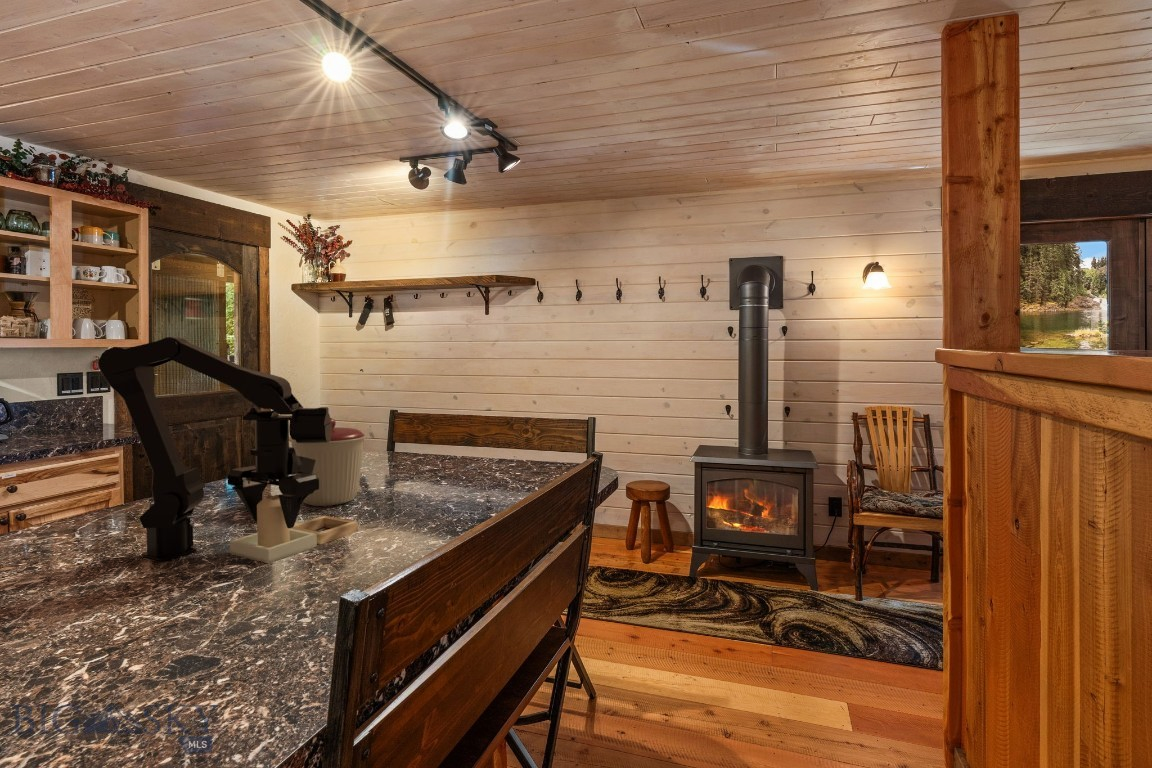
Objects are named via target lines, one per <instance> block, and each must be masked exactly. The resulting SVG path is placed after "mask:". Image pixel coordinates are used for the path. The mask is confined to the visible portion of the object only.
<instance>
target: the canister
mask: <svg viewBox="0 0 1152 768" xmlns="http://www.w3.org/2000/svg"><path fill="white" fill-rule="evenodd" d="M330 419H331V423H332V435H331V440H330V442H329V443H297V442H296V440H295V439H292V438H291V436H289V443H291V447H294V449H295V452H296V455H297V456H302V457H306V458H310V459H314V460H316V463H315V466H314V470H313V474H312V475H316V476H317V477H318V478H319V487H320V488H319V490H315V491H314V493H313V494H309V495H308V496H307V497H306V498H305V499H304V501H303V503H305V505H309V506H314V507H315V506H317V507H326V506H327V507H328V506H337V505H341V504H342V505H343V504H345V503H350V501H352V500H354V499H355V497H356V496H357V494H358V491H359V486H360V478H361V469H362V463H363V462H362V461H363V454H364V453H363V452H364V440H365V439H366V438H367V434H366V433H364V432H362V431H361V430H359V429H357V428H350V427H336V424H337V423H336V420H335V419H334V418H332V417H330ZM298 474H299V473H298Z"/></svg>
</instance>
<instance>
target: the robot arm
mask: <svg viewBox="0 0 1152 768" xmlns="http://www.w3.org/2000/svg"><path fill="white" fill-rule="evenodd" d="M170 362H175V363H178V364H180V365H181V366H185V367H187V368H189V369H191V370H193V371H196V372H197V373H200V374H203V375H204V376H206V377H209V378H211V379H214V380H215V381H217V382H220V383H222V384H225V385H227V386H228V387H230V388H232V389H233V390H235V391H236V392H237V393H238V394H240V395H241V396H242V397H243V398H244V399H246V400H247V401H248V402H250V403H252V404H253V405H255V406H253V407H251V408H250V410H249V411H248V412H247V413H246V414H245V415H243V416H242V420H243V421H254V422H255V423H254V428H255V429H254V431H255V433H254V435H255V436H254V437H255V448H253V449H250V451H249V452H250V454H249V455H250V456H255V465H250V466H243V467H238V468H233V469H231V470H230V471H229V472H228V474H227V485H228V486H232V487H231V489H232V491H233V490H234V491H235V492H236V494H237V495H238V497H239V498H240V500H241V501H242V503H243V504H244V507H245V508H246V510H247V511H248V513H249V515H250V517H251V519H252V520H253V521H254V522H255V523H257V504H258V503H259V502H260V501H261V500H263V493H264V491H265V489H266V488H267V486H268V485H270V486H271V485H272V486H276V487H277V486H278V490H279V492H280V494H277V495H278V496H279V500H280V504H281V508H282V511H283V515H284V519H285V523H286V525H287V528H293V527H294V525H295V524H296V521H297V518H298V515H299V513H300V510H301V507H302V505H303V503H304V502H303V501H304V499H305V498H306V497H307V496H308V495H309V494H313V493H314V491H315V490H319V488H320V487H319V478H318V477H317V476H316V475H312V474H313V470H314V466H315V463H316V460H314V459H310V458H306V457H302V456H297V455H296V452H295V449H294V447H292V446H290V441H289V437H291V438H292V439H295V440H296V442H297V443H329V442H330V440H331V435H332V423H331V419H330V418H331V416H330V413H329V407H328V406H321V407H304V406H303V405H302V404H301V402H300V401H299V400H298V399H297V397H296V396H295V395H294V394H293V393H292V386H291V383H290V382H289V381H288V380H287V379H286V378H284V377H281V376H278V375H275V374H271V373H267V372H263V371H258V370H253V369H249V368H247V367H246V368H245V367H243V366H242V365H240V364H237V363H235V362H233V361H230V360H229V359H225V358H223V357H221V356H219V355H218V354H215V353H212V352H211V351H208V350H206V349H205V348H201V347H199V346H197V345H195V344H193V343H191V342H189V341H187V340H186V339H185V338H182V337H180V336H179V337H175V336H169V337H164V338H161V339H159V340H155V341H152V342H148V343H144V344H143V343H142V344H141V345H140V344H139V345H135V346H118V347H117V346H116V347H110V348H108V349H105V350H104V351H103V352H102V353H101V354H100V357H99V358H98V360H97V366H98V369H99V371H100V373H101V374H102V376H103V377H104V379H105V381H106V382H107V384H108V386H109V387H111V388H112V389H113V390H114V391H115V392H116V393H117V395H119V396H120V397H121V398H122V399H123V401H124V404H125V406H126V408H127V411H128V413H129V416H130V419H131V421H132V423H133V425H134V428H135V431H136V433H137V436H138V439H139V440H140V443H141V446H142V448H143V451H144V454H145V455H146V458H147V460H148V464H149V466H150V469H151V470H152V479H151V480H152V481H151V494H152V500H153V504H152V505H151V506H150V507H149V508H148V509H147V510H146V511H144V513H143V514H142V515H140V516H139V518H138V519H139V521H140V523H141V526H142V528H143V529H145V531H146V533H145V534H146V551H144V552H142V553H141V557H146V558H148V559H153V560H156V561H159V562H164V561H168V560H172V559H174V558H178V557H181V556H185V555H188V554H192V553H194V552H197V551H198V550H197V548H196V547H193V546H194V525H193V524H192V523H191V522H192V521H191V517H189V516H192V515H193V513H194V511H195V509H196V508H197V507H198V506H199V504H201V503H202V500H203V498H204V497H205V496H204V495H205V491H204V489H205V487H207V485H206V484H205V483H204V482H203V480H202V477H201V473H200V470H199V468H198V467H194V468H191V469H190V468H189V467H187V466H186V464H184V463H183V461H182V459H181V457H180V455H179V454H180V453H179V452H178V450H177V447H176V444H175V442H174V439H173V437H172V434H171V432H170V429H169V427H168V425H167V424H168V423H167V422H166V419H165V417H164V414H163V411H162V408H161V406H160V404H159V401H158V399H157V396H156V393H155V382H156V381H155V379H156V373H155V368H156V367H159V366H163V365H165V364H168V363H170ZM262 409H264V410H262ZM298 473H299V474H298Z"/></svg>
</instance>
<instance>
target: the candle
mask: <svg viewBox="0 0 1152 768" xmlns="http://www.w3.org/2000/svg"><path fill="white" fill-rule="evenodd" d="M278 495H279V494H275V495H271V494H268V495H266V496H265V497H263V498H262V500H261V501H260V502H259V503H258V504H257V522H256V523H257V524H256V525H257V526H256V527H257V528H256V530H257V531H256V533H257V536H258V545H259V546H264V547H268V548H270V547H273V546H276V545H280V544H283V543H286V542H289V541H290V528H287V525H286V523H285V519H284V515H283V511H282V508H281V504H280V500H279V496H278Z"/></svg>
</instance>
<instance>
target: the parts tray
mask: <svg viewBox="0 0 1152 768" xmlns="http://www.w3.org/2000/svg"><path fill="white" fill-rule="evenodd" d="M316 547H318V544H317V534H315V533H310V532H305V531H300V530H295V529H290V541H289V542H286V543H283V544H280V545H276V546H273V547H270V548H268V547H264V546H259V545H258V536H257V532H256V533H251V534H249V535H246V536H242V537H238V538H236V539H232V540H229V555H232V556H236V557H240V558H245V559H249V560H253V561H258V562H261V563H266V564H271V563H274V562H277V561H279V560H283V559H286V558H288V557H291V556H294V555H297V554H299V553H303V552H305V551H308V550H311V549H313V548H316Z"/></svg>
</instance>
